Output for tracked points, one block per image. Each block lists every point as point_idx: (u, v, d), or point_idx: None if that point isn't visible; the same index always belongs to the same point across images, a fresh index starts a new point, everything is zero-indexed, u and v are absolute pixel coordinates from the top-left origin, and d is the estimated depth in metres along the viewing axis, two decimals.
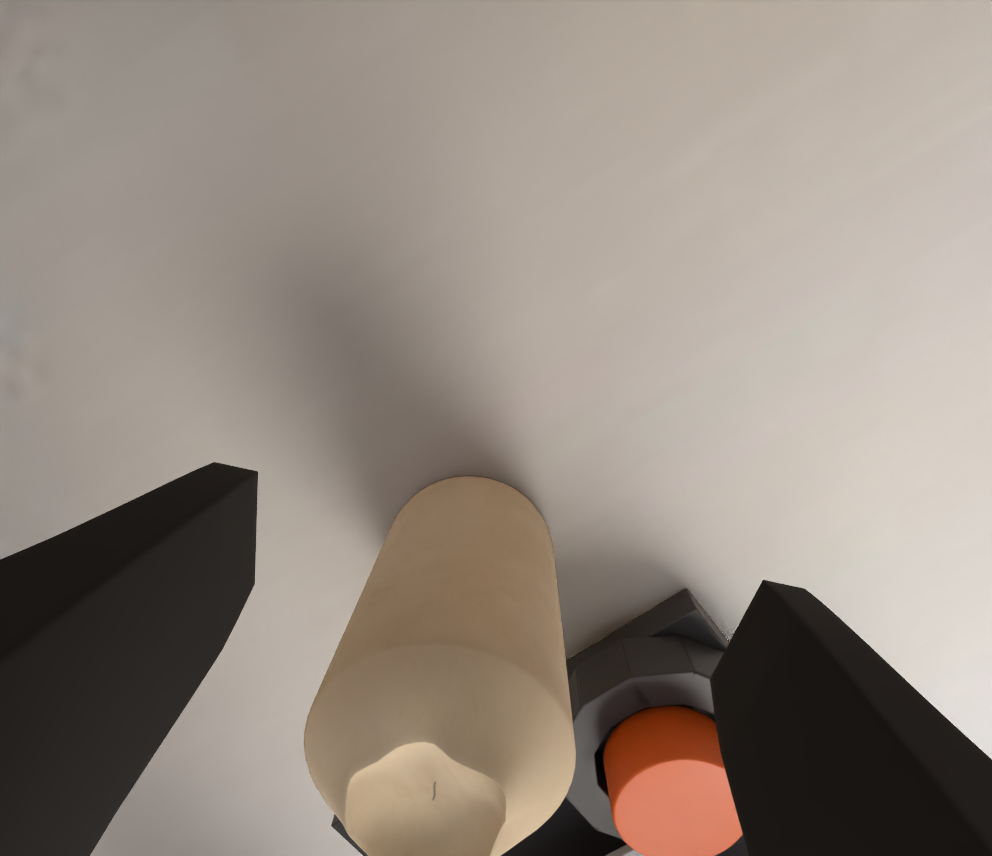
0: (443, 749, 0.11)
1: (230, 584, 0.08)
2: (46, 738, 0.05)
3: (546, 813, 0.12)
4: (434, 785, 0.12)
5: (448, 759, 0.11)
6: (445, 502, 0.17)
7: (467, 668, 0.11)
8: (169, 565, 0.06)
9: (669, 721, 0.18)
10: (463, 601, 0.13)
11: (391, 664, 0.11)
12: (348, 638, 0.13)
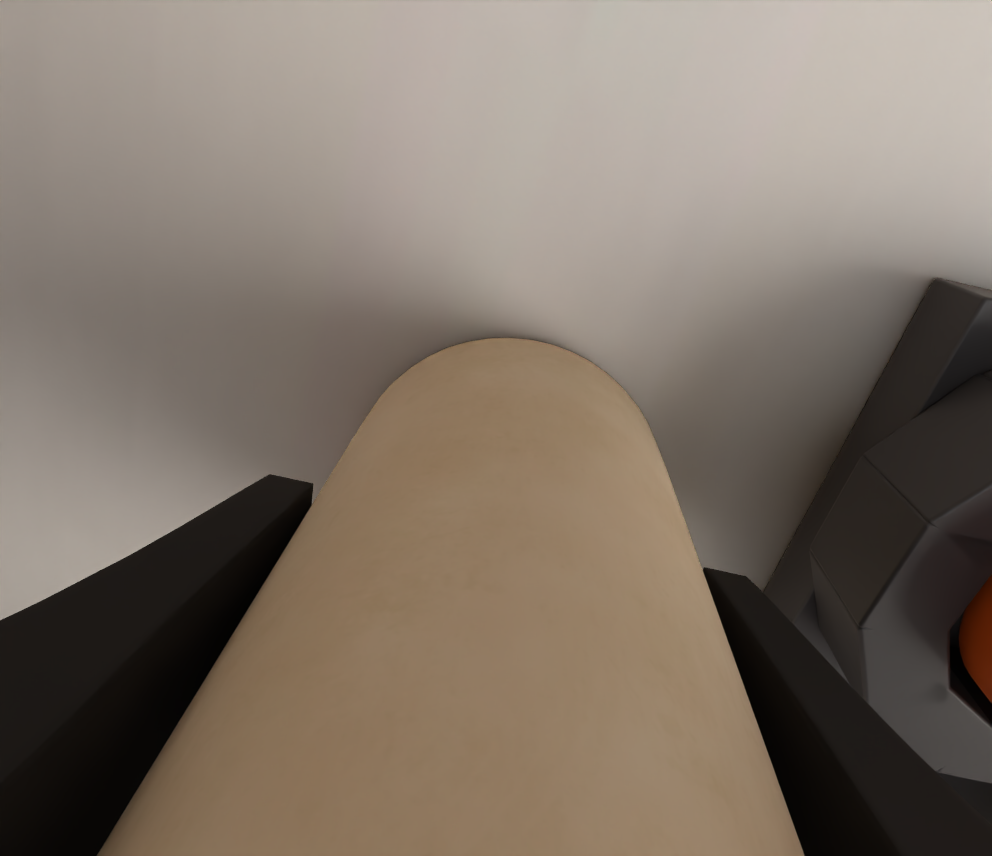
0: None
1: None
2: (136, 756, 0.05)
3: None
4: None
5: None
6: (348, 446, 0.09)
7: None
8: (241, 580, 0.06)
9: None
10: (222, 731, 0.04)
11: None
12: None
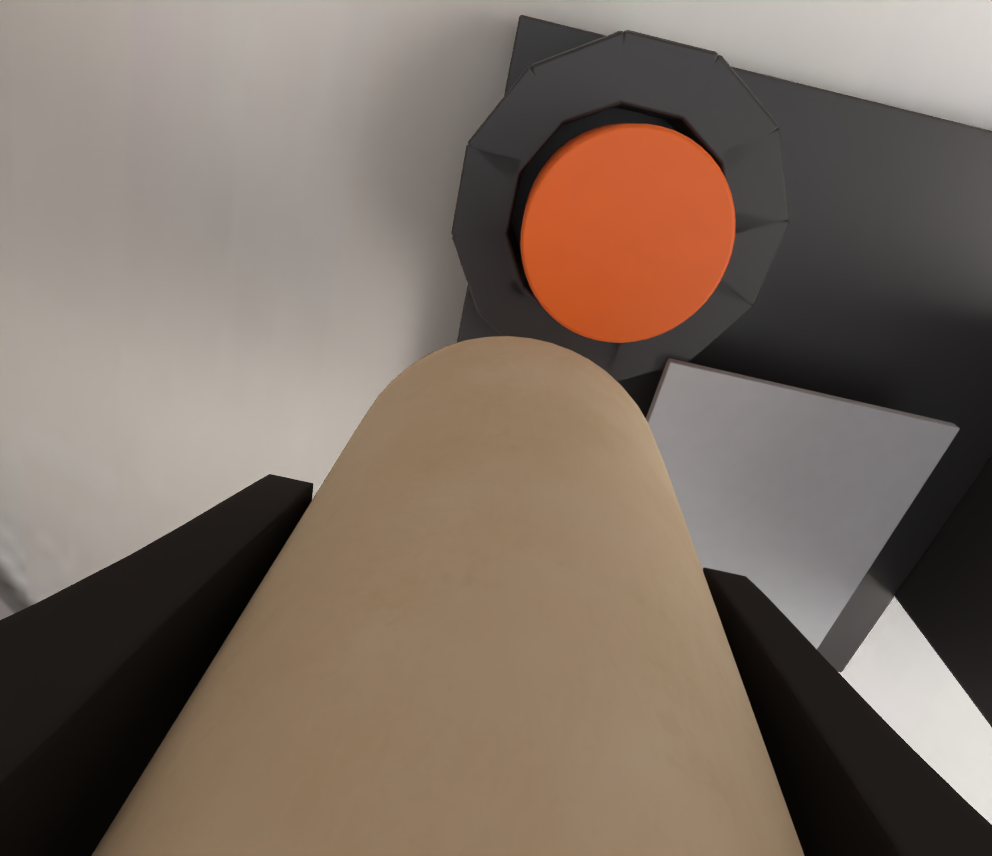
0: None
1: None
2: (136, 756, 0.05)
3: None
4: None
5: None
6: (347, 444, 0.09)
7: None
8: (240, 580, 0.06)
9: (551, 158, 0.12)
10: (219, 730, 0.04)
11: None
12: None
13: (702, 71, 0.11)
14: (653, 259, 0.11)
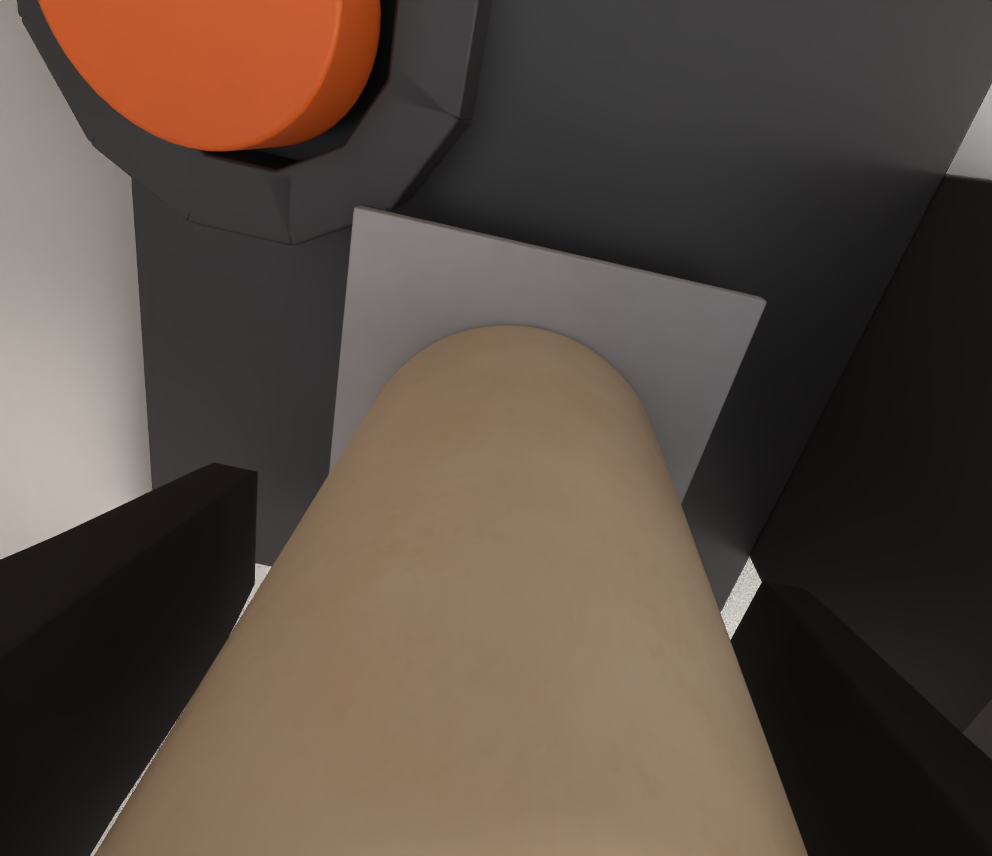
0: None
1: (230, 584, 0.08)
2: (46, 738, 0.05)
3: None
4: None
5: None
6: (359, 425, 0.09)
7: None
8: (169, 565, 0.06)
9: None
10: (259, 657, 0.04)
11: None
12: None
13: None
14: (227, 1, 0.07)
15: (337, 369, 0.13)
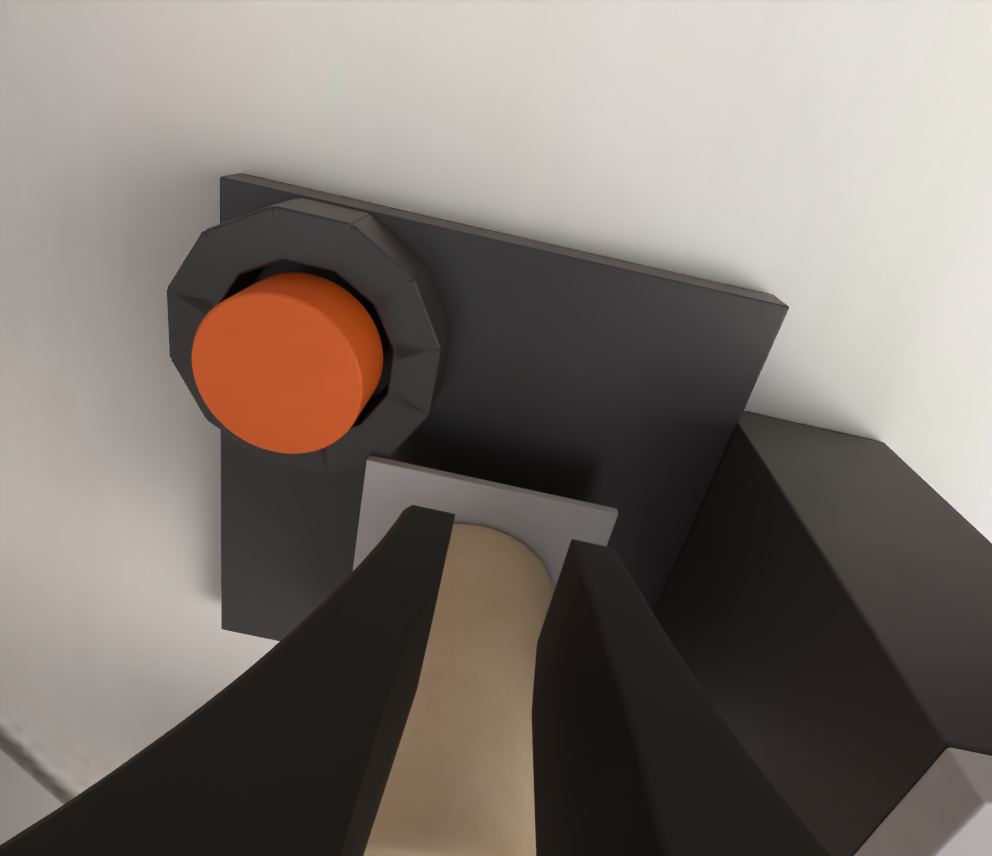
0: None
1: (430, 626, 0.08)
2: (366, 802, 0.05)
3: None
4: None
5: None
6: None
7: None
8: (423, 618, 0.06)
9: None
10: None
11: None
12: None
13: (340, 237, 0.14)
14: (301, 391, 0.14)
15: (353, 523, 0.20)
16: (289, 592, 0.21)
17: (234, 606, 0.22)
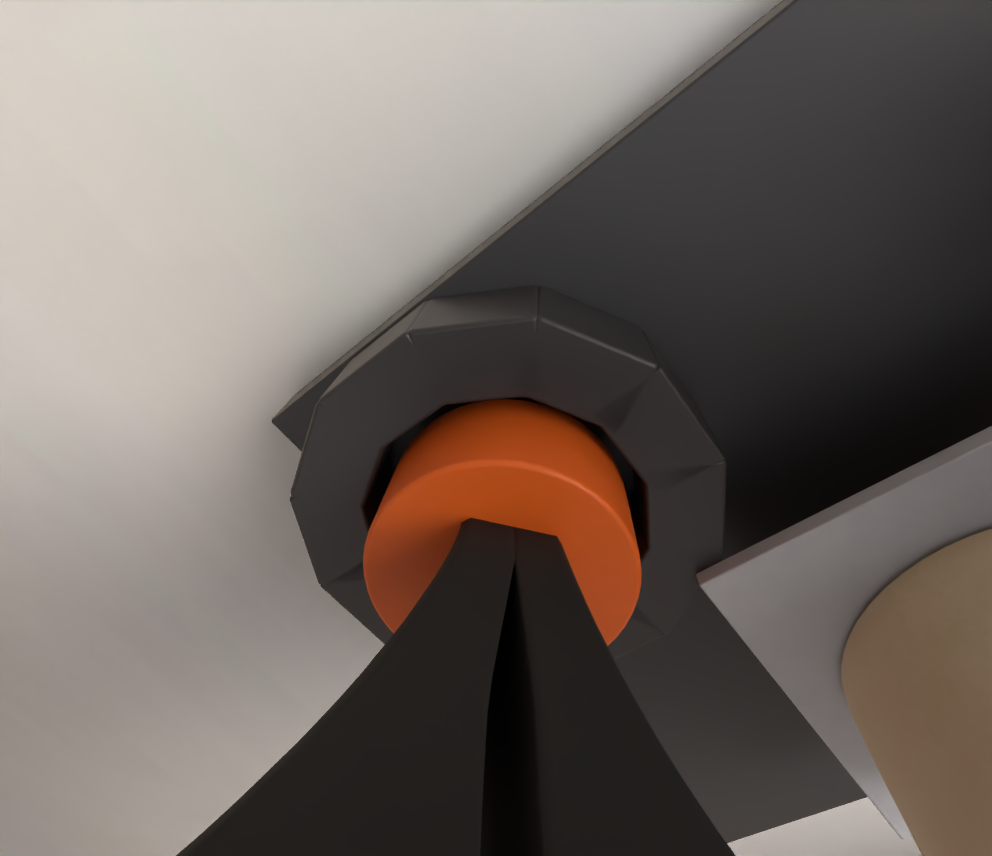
0: None
1: None
2: None
3: None
4: None
5: None
6: (903, 791, 0.08)
7: None
8: None
9: None
10: None
11: None
12: None
13: (411, 359, 0.09)
14: None
15: (744, 646, 0.13)
16: (742, 769, 0.15)
17: None
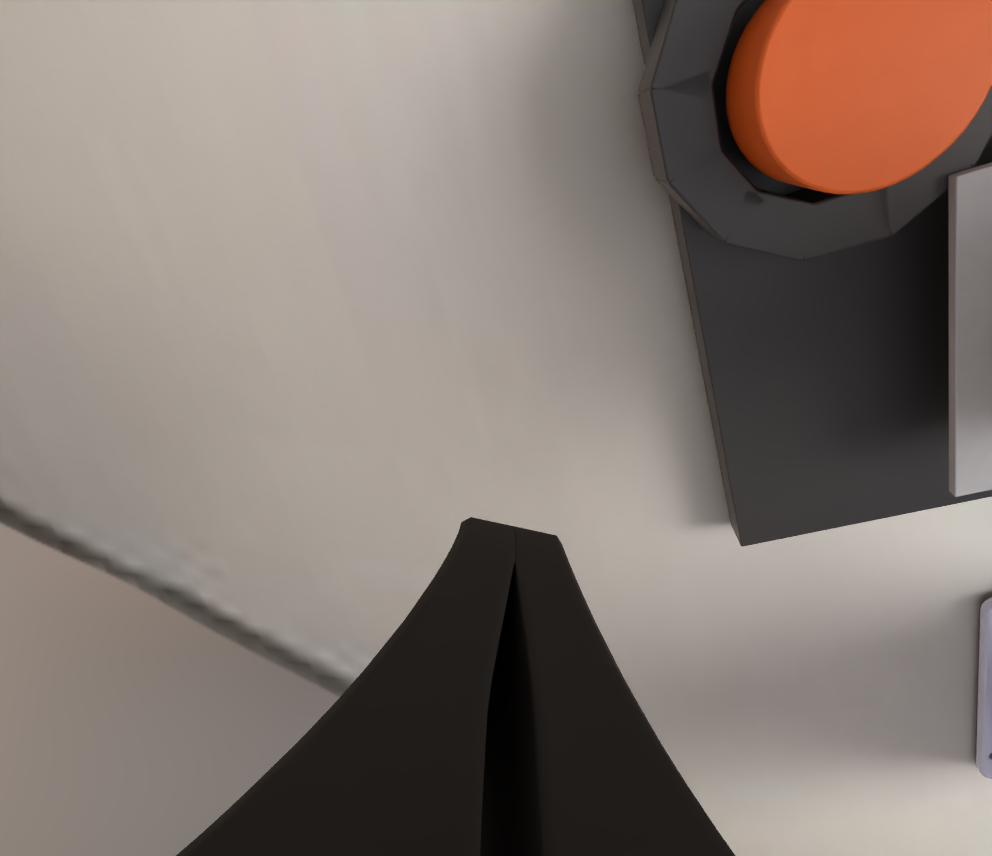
0: None
1: None
2: None
3: None
4: None
5: None
6: None
7: None
8: None
9: (743, 48, 0.11)
10: None
11: None
12: None
13: None
14: (915, 69, 0.10)
15: (881, 330, 0.16)
16: (815, 462, 0.18)
17: (751, 510, 0.18)
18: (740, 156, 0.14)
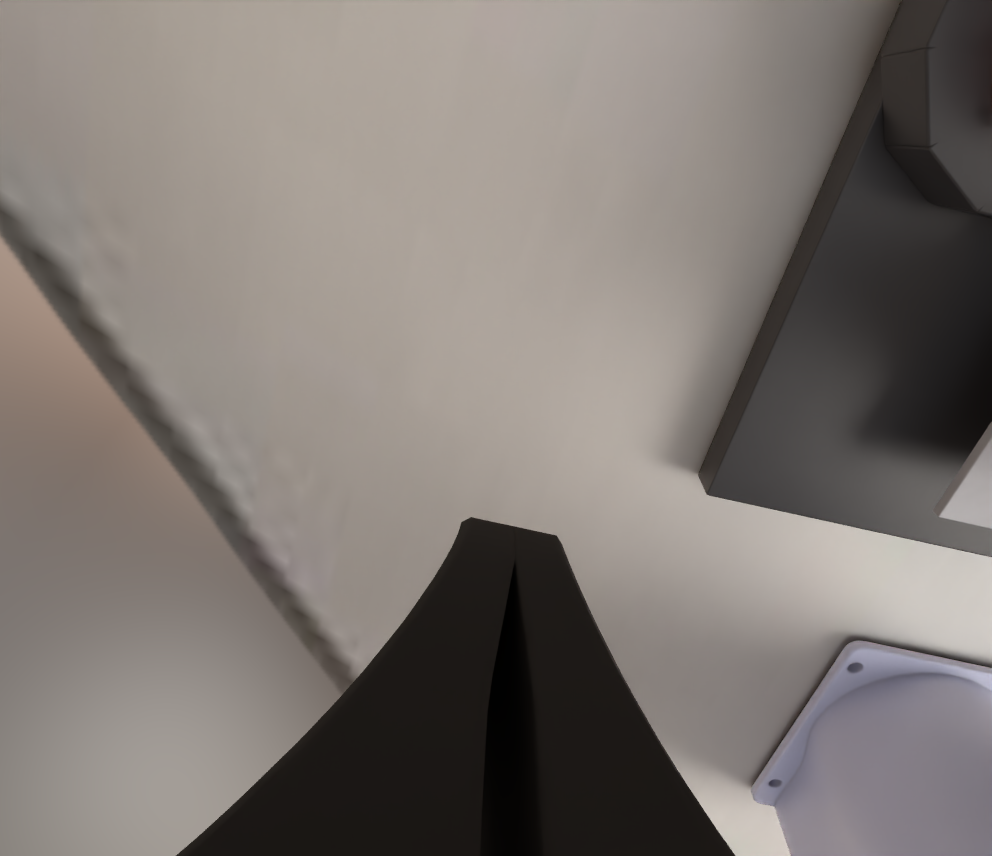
0: None
1: None
2: None
3: None
4: None
5: None
6: None
7: None
8: None
9: None
10: None
11: None
12: None
13: None
14: None
15: (953, 339, 0.16)
16: (821, 441, 0.17)
17: (738, 462, 0.18)
18: None
